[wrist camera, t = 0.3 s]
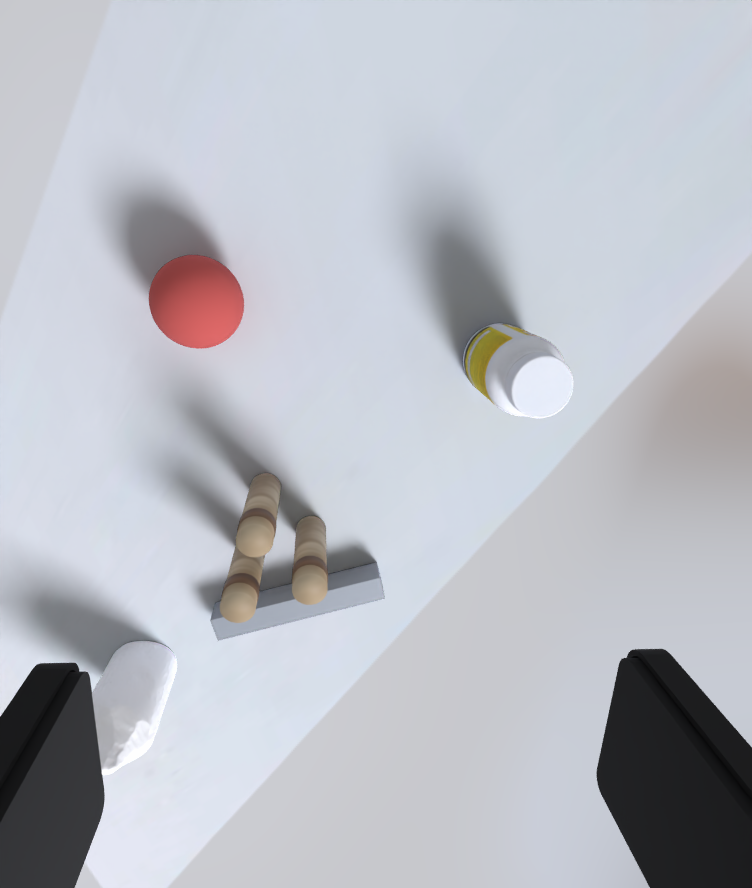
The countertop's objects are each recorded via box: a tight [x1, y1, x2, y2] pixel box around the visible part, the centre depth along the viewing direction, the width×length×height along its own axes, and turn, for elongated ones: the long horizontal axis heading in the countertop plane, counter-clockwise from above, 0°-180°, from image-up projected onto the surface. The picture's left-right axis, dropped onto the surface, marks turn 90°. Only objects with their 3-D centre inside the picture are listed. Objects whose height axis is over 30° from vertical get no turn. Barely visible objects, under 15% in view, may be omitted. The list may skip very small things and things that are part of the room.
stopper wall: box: [210, 562, 385, 640], centre depth 49 cm, size 2×14×2 cm, turn 102°
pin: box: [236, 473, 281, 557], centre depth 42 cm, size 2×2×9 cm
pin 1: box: [220, 545, 265, 623], centre depth 44 cm, size 2×2×9 cm
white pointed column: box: [92, 641, 177, 775], centre depth 45 cm, size 6×12×6 cm
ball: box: [149, 255, 244, 348], centre depth 39 cm, size 6×6×6 cm
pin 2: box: [292, 516, 328, 605], centre depth 44 cm, size 2×2×9 cm
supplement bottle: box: [463, 323, 574, 418], centre depth 41 cm, size 5×5×10 cm
